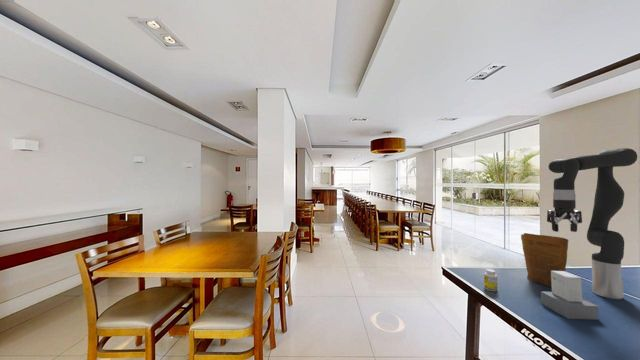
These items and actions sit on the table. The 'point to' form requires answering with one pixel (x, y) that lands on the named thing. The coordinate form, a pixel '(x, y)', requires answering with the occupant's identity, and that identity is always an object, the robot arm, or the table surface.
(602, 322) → the table surface
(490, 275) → the supplement bottle
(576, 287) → the small box
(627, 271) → the table surface
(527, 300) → the table surface
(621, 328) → the table surface
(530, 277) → the pancake mix bag
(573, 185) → the robot arm
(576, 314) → the base block
